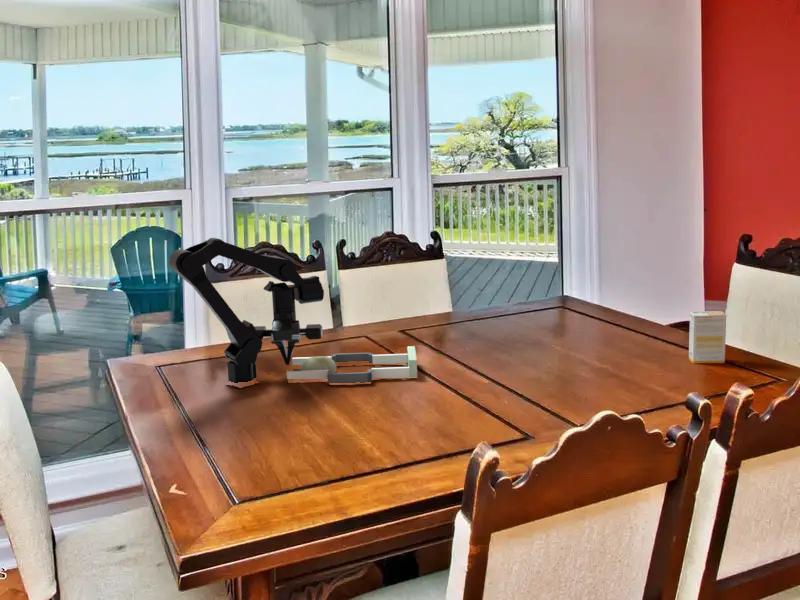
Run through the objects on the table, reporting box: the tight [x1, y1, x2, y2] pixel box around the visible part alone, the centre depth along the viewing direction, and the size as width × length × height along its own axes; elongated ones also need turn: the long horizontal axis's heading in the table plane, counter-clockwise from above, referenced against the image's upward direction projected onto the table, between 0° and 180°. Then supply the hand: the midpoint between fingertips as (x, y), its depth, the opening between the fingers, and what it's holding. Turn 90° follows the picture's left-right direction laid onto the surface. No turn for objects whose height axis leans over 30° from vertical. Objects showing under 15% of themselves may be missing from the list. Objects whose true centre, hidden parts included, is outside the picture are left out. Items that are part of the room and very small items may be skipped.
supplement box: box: [688, 310, 727, 364], centre depth 217 cm, size 8×5×13 cm, turn 84°
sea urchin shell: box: [300, 355, 338, 373], centre depth 217 cm, size 9×8×8 cm
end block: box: [406, 345, 418, 378], centre depth 217 cm, size 2×14×5 cm, turn 1°
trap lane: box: [286, 351, 409, 384], centre depth 217 cm, size 31×20×3 cm, turn 91°
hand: (287, 364), depth 217 cm, fingers closed
